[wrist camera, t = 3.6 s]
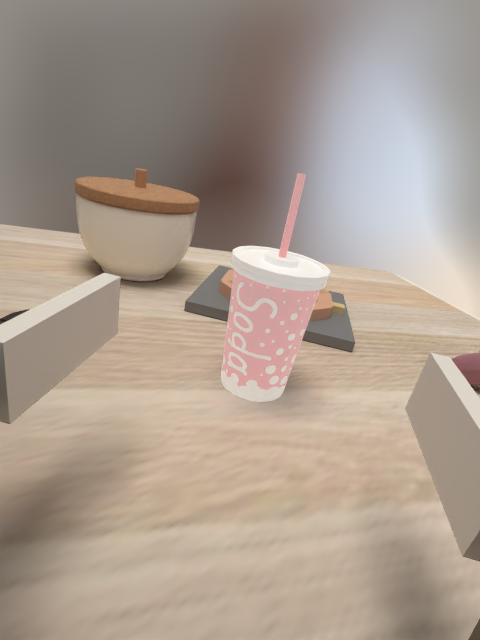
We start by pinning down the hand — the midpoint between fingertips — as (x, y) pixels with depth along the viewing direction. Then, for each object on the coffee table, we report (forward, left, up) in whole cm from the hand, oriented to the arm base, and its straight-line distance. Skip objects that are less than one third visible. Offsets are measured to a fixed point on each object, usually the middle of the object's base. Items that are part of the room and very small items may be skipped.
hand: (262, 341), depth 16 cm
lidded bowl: (-17, +25, -8) cm, 31 cm away
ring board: (0, +25, -7) cm, 26 cm away
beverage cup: (0, +9, -8) cm, 11 cm away
